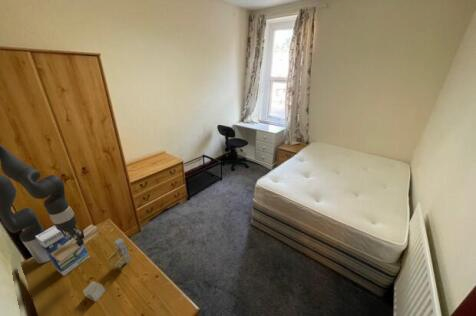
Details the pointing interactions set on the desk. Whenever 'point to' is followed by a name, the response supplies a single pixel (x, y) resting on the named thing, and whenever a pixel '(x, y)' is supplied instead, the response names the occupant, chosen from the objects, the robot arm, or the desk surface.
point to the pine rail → (74, 244)
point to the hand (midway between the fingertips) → (78, 243)
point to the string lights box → (55, 240)
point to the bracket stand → (96, 289)
